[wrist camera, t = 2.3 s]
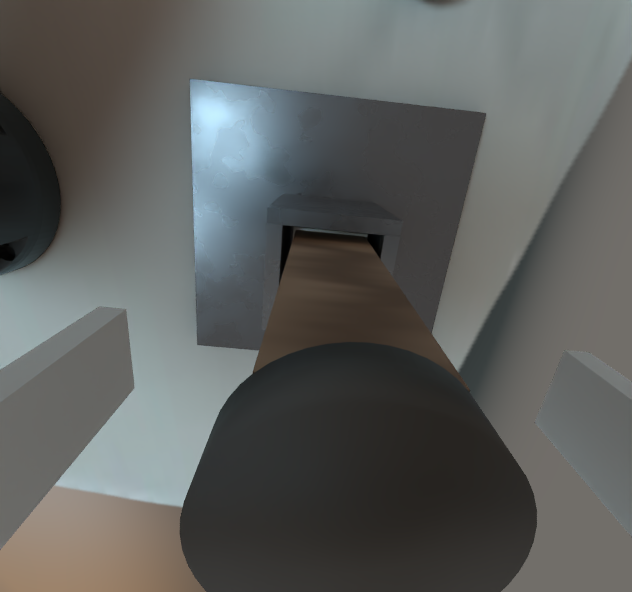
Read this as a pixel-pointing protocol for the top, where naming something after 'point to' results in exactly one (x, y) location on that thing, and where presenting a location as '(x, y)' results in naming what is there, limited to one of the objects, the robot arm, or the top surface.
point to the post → (353, 450)
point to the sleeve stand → (318, 193)
